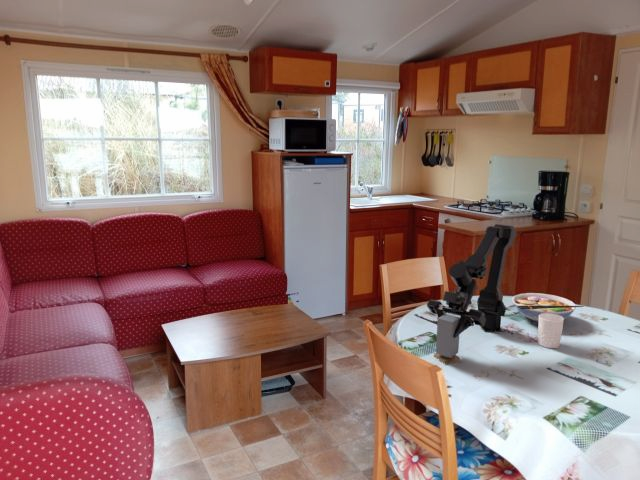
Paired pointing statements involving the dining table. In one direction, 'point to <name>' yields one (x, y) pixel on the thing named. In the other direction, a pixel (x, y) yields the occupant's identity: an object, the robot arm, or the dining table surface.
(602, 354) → the dining table surface
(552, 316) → the white cup
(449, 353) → the tall grey pillar
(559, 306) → the ramen bowl
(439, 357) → the post plinth
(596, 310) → the dining table surface
